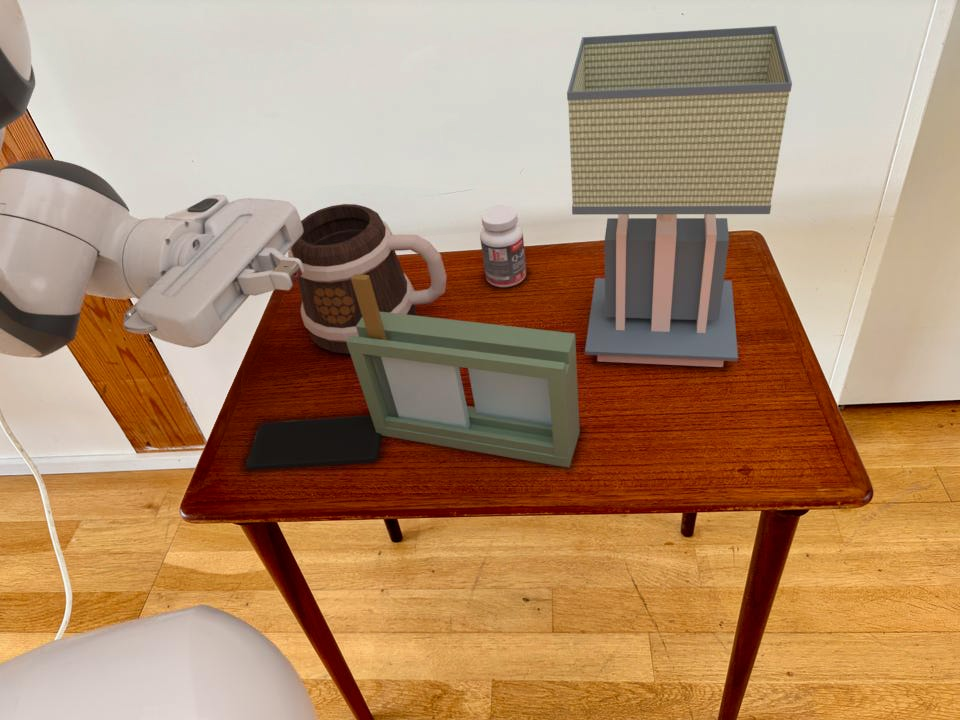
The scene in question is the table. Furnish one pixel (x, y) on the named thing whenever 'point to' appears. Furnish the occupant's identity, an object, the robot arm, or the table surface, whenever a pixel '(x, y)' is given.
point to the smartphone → (315, 443)
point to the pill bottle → (502, 246)
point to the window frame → (483, 385)
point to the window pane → (412, 375)
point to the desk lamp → (673, 180)
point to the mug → (356, 271)
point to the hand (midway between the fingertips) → (296, 274)
